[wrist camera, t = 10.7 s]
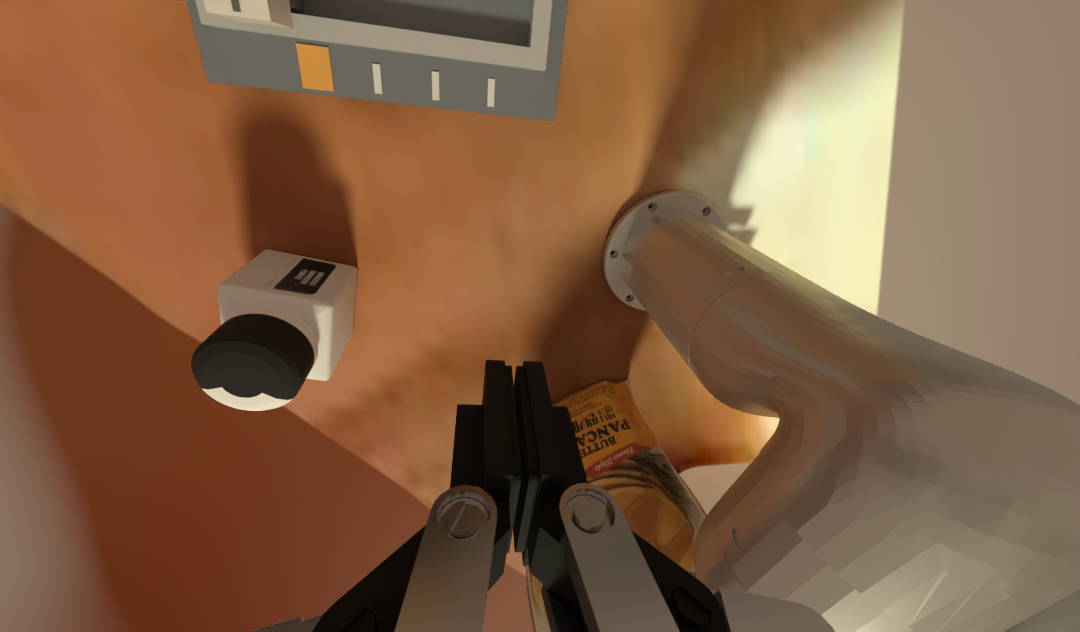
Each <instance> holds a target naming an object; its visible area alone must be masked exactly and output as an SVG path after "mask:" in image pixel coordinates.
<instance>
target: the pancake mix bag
mask: <svg viewBox="0 0 1080 632" xmlns="http://www.w3.org/2000/svg"><path fill="white" fill-rule="evenodd" d="M552 406H566V407H567V408H568V410H569V413H570V417H571V420H572V424H573V428H574V432H575V436H576V439H577V443H578V447H579V451H580V455H581V458H582V462H583V466H584V470H585V473H586V477H587V481H588V483H590V484H594V485H598V486H599V487H601V488H603V489H605V490H606V491H608V492H609V493H610V494H611V495H612V496H613V497H614V498H615V500H616V502H617V503H618V505H619V506H620V509H621V511H622V513H623V515H624V517H625V519H626V521H627V523H628V525H629V527H630V529H631V530H632V531H633V532H635V533H636V534H637V535H639V536H640V537H641V538H643V539H644V540H645V541H647V542H648V543H649V544H651V545H652V546H654V547H655V548H656V549H658V550H659V551H660V552H662V553H663V554H664V555H666V556H667V557H668V558H670V559H671V560H673V561H674V562H675V563H677V564H678V565H679V566H681V567H682V568H683V569H685V570H686V571H687V572H689V573H690V574H692V575H693V576H694V577H696V574H695V569H694V559H693V554H694V545H695V540H696V536H697V534H698V531H699V528H700V526H701V525H702V523H703V521H704V519H705V518H706V516H707V514H706V513H705V511H704V510H703V508H702V507H701V505H700V504H699V502H698V501H697V499H696V498H695V496H694V495H693V493H692V492H691V490H690V489H689V487H688V486H687V485H686V483H685V482H684V481H683V480H682V478H681V477H680V475H679V474H678V473H677V471H676V470H675V469H674V467H673V466H672V465H671V464H670V462H669V460H668V458H667V456H666V455H665V453H664V451H663V449H662V448H661V446H660V444H659V442H658V441H657V439H656V437H655V435H654V433H653V431H652V430H651V429H650V428H649V427H648V425H647V424H646V423H645V421H644V420H643V418H642V417H641V415H640V413H639V411H638V409H637V407H636V405H635V403H634V400H633V398H632V395H631V390H630V384H629V379H628V380H625V381H622V382H618V383H614V382H611V381H608V380H603V381H600V382H597V383H594V384H592V385H590V386H588V387H586V388H584V389H582V390H580V391H578V392H575V393H573V394H571V395H569V396H567V397H565V398H564V399H562V400H560V401H558V402H556V403H554V404H552ZM525 568H526V582H527V594H528V600H529V607H530V613H531V618H532V624H533V629H534V632H551V630H550V626H549V622H548V618H547V614H546V610H545V606H544V602H543V598H542V594H541V587H540V581H539V580H538V579H537V578H536V577H534V576H533V575H532V574H531V573H530V571H529V566H525Z"/></svg>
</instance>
